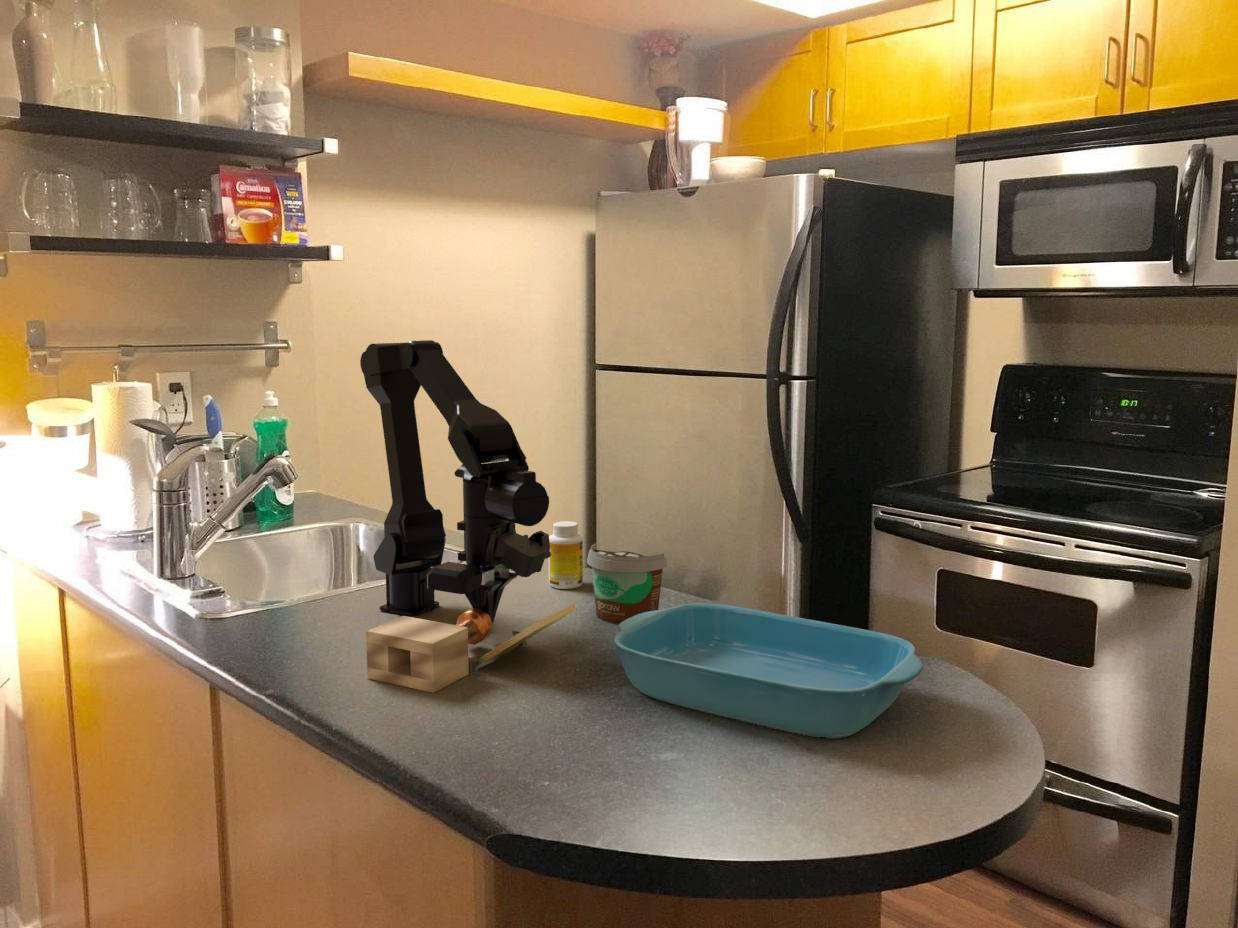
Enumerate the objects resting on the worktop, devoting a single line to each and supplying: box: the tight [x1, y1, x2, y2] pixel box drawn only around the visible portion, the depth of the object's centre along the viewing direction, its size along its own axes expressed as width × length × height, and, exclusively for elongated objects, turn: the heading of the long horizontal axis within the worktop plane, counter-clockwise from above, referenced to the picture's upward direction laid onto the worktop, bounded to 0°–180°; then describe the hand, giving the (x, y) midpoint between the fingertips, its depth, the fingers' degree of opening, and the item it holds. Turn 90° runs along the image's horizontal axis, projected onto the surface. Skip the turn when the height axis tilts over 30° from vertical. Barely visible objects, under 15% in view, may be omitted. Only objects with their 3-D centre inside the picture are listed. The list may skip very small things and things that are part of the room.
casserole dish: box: [613, 602, 924, 739], centre depth 123 cm, size 37×22×7 cm, turn 56°
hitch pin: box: [409, 608, 493, 654], centre depth 134 cm, size 4×13×4 cm, turn 152°
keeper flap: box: [476, 603, 577, 668], centre depth 133 cm, size 11×10×1 cm
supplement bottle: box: [547, 520, 584, 590], centre depth 169 cm, size 6×6×10 cm
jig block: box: [365, 615, 470, 694], centre depth 129 cm, size 10×7×6 cm
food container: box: [586, 543, 668, 625], centre depth 151 cm, size 12×6×10 cm, turn 62°
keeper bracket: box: [468, 628, 528, 675], centre depth 136 cm, size 2×13×2 cm, turn 152°
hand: (487, 627), depth 142 cm, fingers closed
